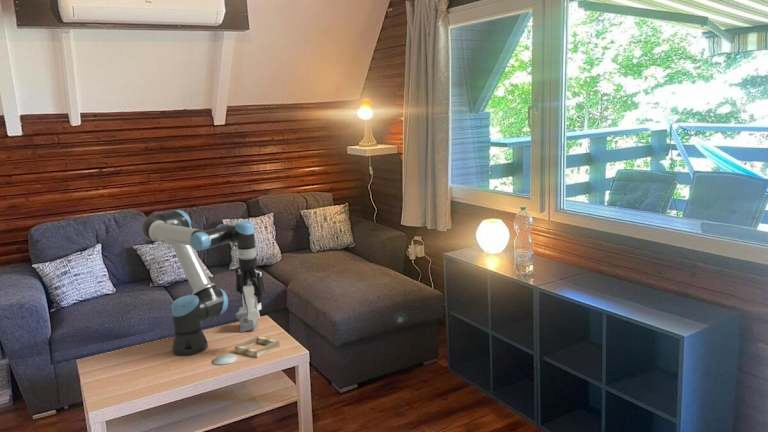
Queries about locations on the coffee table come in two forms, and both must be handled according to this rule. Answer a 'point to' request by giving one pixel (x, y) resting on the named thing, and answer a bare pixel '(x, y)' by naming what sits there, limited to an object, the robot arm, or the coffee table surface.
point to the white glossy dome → (225, 359)
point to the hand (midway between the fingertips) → (252, 308)
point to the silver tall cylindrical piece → (250, 302)
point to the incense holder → (245, 321)
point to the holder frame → (256, 353)
